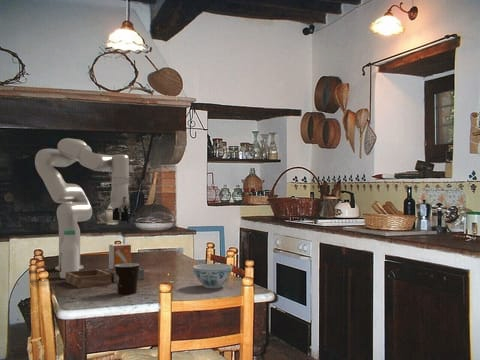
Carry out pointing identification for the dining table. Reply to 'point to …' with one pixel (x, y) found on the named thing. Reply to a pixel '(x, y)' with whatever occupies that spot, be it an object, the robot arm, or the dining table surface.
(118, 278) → the coffee mug
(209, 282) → the chinaware
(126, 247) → the small box
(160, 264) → the dining table surface
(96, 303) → the dining table surface
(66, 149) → the robot arm
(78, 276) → the walnut trough
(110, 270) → the frame
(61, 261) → the milk bottle
